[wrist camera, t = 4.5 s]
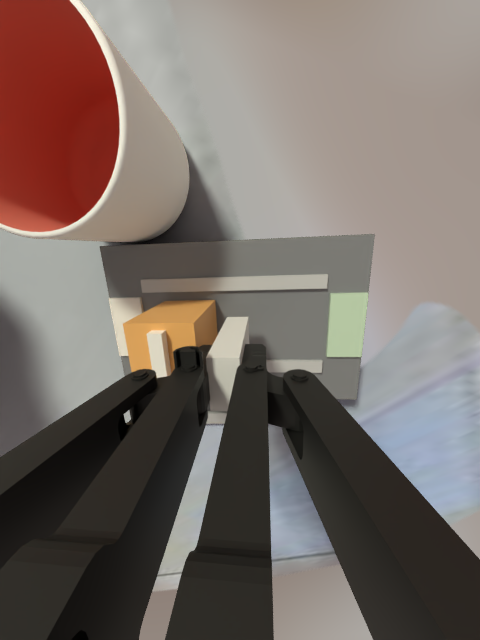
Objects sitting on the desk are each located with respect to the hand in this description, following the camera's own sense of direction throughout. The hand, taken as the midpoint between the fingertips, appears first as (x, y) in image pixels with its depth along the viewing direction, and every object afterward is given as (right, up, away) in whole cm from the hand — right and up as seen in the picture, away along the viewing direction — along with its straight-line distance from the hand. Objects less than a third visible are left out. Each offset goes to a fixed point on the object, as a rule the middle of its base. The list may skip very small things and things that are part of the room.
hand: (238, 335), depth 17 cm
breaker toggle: (-4, +1, +2) cm, 4 cm away
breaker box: (0, +1, +5) cm, 5 cm away
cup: (-9, +13, +3) cm, 16 cm away
